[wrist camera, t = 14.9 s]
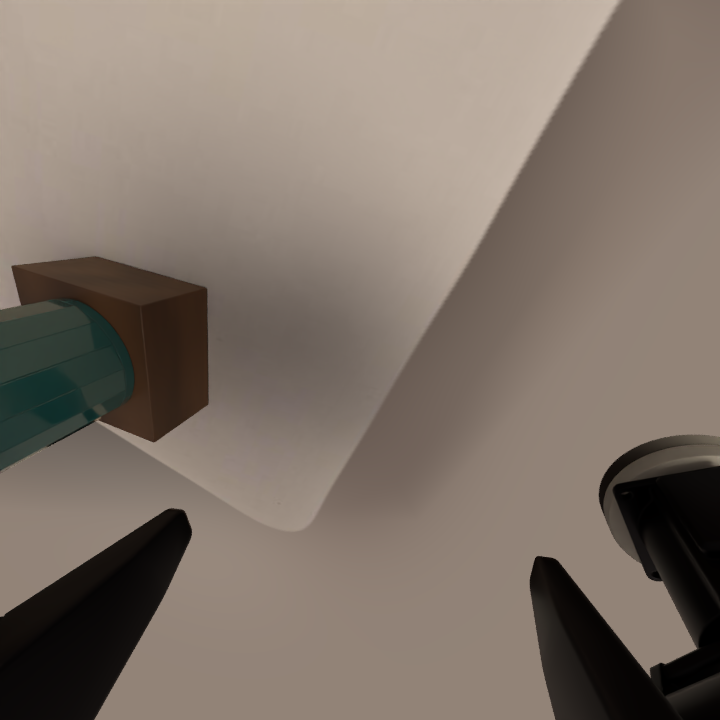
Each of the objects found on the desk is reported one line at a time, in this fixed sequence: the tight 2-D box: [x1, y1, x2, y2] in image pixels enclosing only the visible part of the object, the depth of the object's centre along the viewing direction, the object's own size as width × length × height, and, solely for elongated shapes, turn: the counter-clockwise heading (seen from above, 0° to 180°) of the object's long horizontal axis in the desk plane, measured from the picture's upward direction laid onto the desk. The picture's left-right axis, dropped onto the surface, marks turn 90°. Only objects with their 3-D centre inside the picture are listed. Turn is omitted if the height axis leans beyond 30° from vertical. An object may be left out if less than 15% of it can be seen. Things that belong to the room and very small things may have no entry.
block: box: [12, 256, 208, 442], centre depth 23 cm, size 9×9×5 cm
